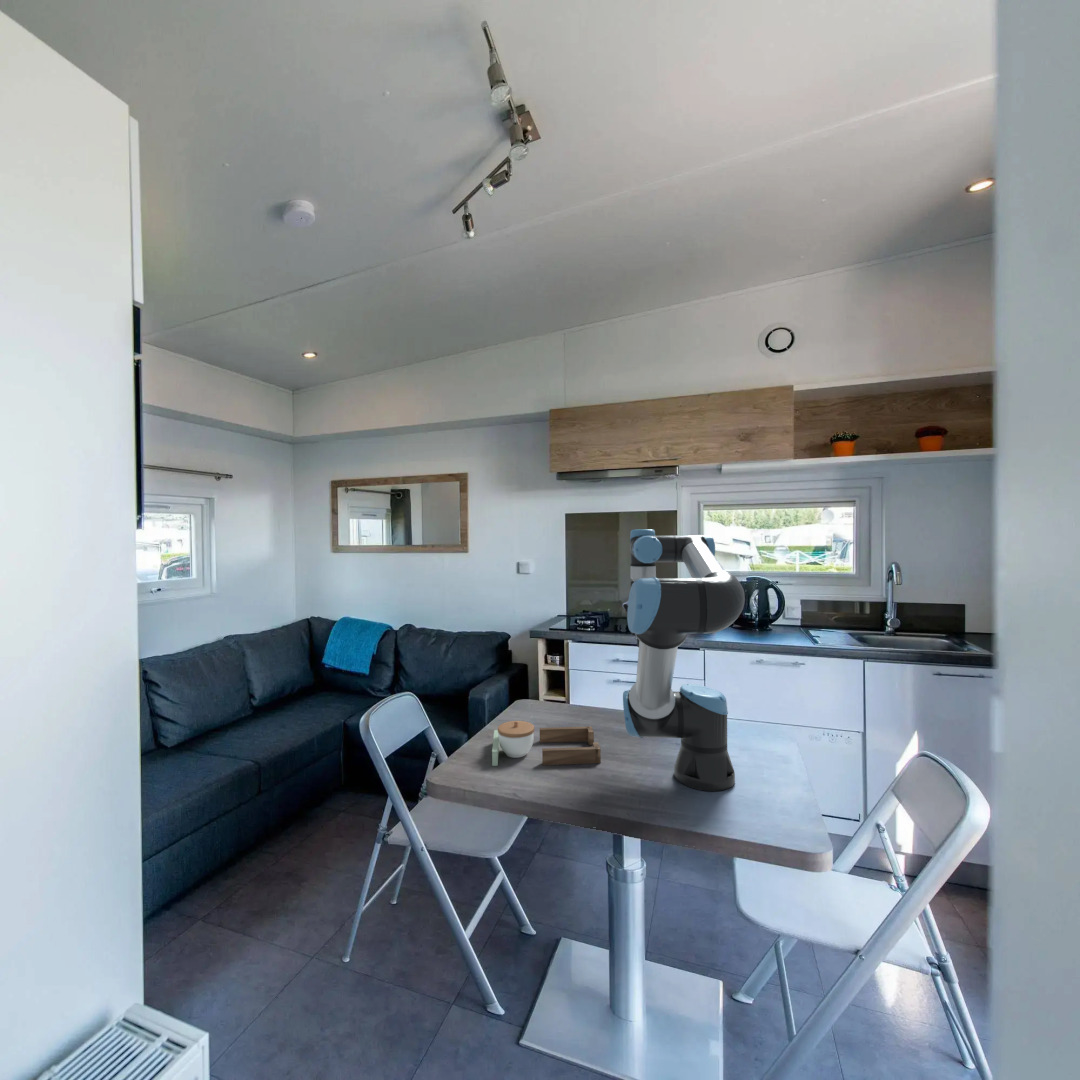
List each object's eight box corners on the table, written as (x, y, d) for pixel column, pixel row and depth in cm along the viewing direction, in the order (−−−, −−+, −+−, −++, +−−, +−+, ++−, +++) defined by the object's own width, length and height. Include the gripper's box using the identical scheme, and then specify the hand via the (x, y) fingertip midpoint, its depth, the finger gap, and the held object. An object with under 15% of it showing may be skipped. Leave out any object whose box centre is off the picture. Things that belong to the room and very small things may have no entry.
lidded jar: (511, 743, 159) (510, 713, 159) (541, 750, 154) (540, 718, 154) (490, 756, 150) (490, 724, 150) (522, 764, 145) (521, 730, 145)
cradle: (600, 763, 145) (600, 748, 145) (542, 765, 144) (542, 750, 144) (591, 739, 162) (591, 726, 162) (539, 740, 161) (539, 727, 161)
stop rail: (497, 765, 144) (497, 751, 144) (492, 765, 144) (492, 751, 144) (499, 742, 160) (499, 729, 160) (494, 742, 160) (494, 729, 160)
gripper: (660, 578, 161) (661, 654, 161) (619, 579, 160) (619, 655, 160) (668, 580, 153) (668, 660, 153) (624, 581, 152) (625, 661, 153)
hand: (643, 658), depth 157 cm, fingers closed
